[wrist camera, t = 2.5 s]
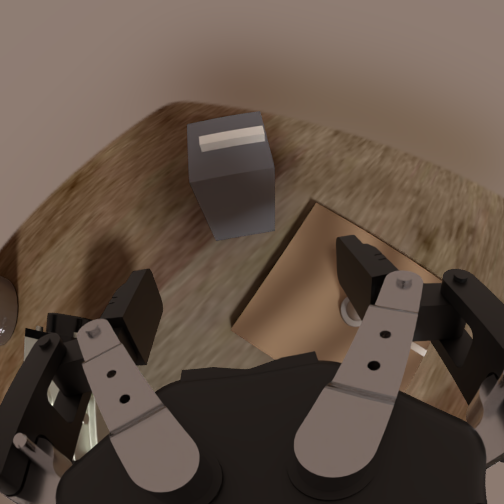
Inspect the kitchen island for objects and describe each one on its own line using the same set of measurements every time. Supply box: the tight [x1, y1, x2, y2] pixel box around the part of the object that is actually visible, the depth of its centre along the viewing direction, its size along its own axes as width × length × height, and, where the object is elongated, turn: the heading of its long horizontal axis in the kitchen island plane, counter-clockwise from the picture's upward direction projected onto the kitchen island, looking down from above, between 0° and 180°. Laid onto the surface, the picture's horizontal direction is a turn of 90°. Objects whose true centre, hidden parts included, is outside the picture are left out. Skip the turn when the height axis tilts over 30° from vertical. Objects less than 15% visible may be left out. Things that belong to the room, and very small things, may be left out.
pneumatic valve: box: [24, 313, 110, 465], centre depth 18 cm, size 6×12×12 cm, turn 0°
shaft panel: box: [231, 203, 442, 393], centre depth 22 cm, size 16×14×6 cm
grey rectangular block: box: [187, 111, 275, 241], centre depth 24 cm, size 6×6×11 cm
